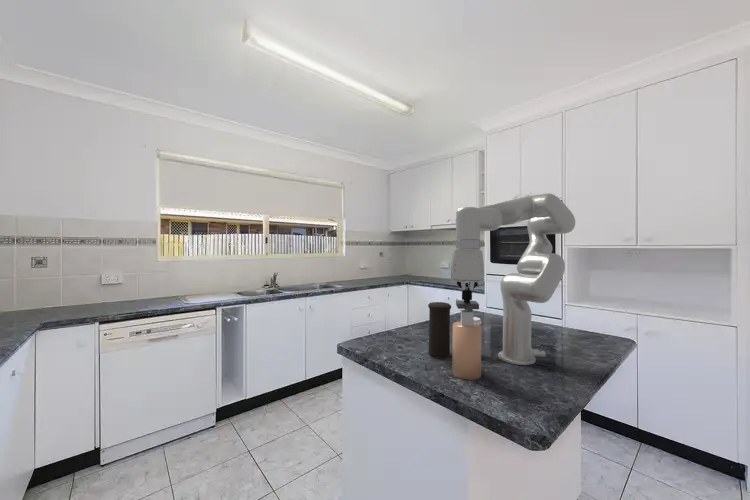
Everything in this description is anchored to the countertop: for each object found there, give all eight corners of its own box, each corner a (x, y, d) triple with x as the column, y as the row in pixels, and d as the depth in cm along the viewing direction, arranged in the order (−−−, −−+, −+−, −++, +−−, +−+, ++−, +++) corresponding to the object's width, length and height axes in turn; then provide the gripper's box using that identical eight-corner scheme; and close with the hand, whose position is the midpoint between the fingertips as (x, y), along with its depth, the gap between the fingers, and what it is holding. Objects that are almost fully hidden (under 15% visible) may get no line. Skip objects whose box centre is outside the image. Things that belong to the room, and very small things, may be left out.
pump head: (475, 319, 106) (475, 300, 105) (480, 327, 96) (481, 306, 95) (455, 318, 107) (456, 300, 106) (459, 326, 97) (459, 305, 96)
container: (449, 351, 125) (449, 300, 125) (452, 359, 116) (452, 305, 116) (426, 350, 126) (427, 300, 126) (428, 358, 117) (429, 304, 117)
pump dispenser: (478, 369, 107) (479, 308, 107) (483, 380, 98) (484, 314, 98) (451, 367, 108) (451, 307, 108) (453, 378, 99) (454, 313, 99)
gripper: (489, 246, 105) (488, 301, 105) (443, 245, 107) (442, 299, 108) (494, 246, 98) (493, 305, 98) (444, 245, 100) (443, 303, 100)
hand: (466, 302), depth 103 cm, fingers closed
